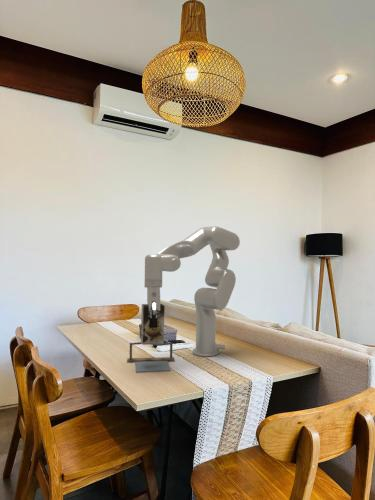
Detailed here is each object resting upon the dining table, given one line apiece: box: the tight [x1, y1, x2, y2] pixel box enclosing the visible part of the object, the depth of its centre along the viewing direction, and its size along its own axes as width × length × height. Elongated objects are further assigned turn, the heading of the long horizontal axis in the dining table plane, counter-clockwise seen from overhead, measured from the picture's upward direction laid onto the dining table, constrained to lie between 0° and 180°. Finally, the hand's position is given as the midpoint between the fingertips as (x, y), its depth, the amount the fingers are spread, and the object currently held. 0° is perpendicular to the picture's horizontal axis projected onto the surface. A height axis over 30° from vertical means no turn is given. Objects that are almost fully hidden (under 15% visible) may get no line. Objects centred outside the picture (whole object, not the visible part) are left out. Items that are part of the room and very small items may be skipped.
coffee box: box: [140, 303, 166, 346], centre depth 146 cm, size 9×6×16 cm
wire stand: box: [126, 341, 176, 364], centre depth 154 cm, size 21×4×8 cm, turn 97°
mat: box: [135, 361, 171, 373], centre depth 146 cm, size 14×12×1 cm
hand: (152, 325), depth 146 cm, fingers closed on coffee box, 6 cm apart
